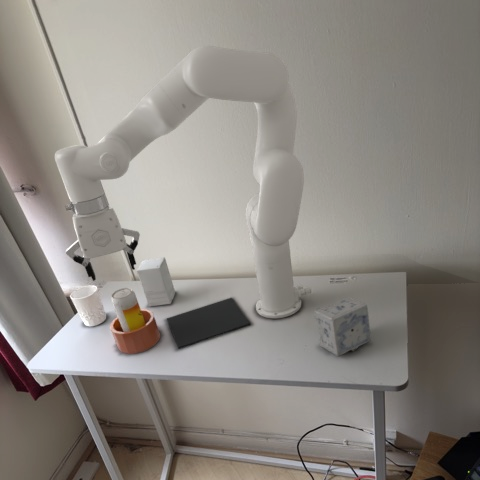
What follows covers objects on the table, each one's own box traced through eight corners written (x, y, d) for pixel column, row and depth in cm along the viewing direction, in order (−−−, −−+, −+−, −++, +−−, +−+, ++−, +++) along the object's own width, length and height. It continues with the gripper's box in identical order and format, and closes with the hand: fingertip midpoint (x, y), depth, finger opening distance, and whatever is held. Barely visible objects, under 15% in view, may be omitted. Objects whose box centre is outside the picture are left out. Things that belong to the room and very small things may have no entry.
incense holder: (348, 328, 103) (347, 292, 98) (372, 344, 97) (372, 306, 91) (315, 343, 101) (312, 306, 95) (337, 361, 94) (335, 322, 88)
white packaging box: (176, 292, 134) (165, 256, 128) (170, 304, 128) (159, 267, 122) (154, 294, 136) (143, 259, 129) (147, 306, 130) (135, 270, 123)
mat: (231, 299, 125) (231, 297, 125) (250, 324, 112) (250, 323, 112) (166, 319, 121) (166, 318, 121) (178, 349, 108) (178, 347, 108)
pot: (156, 323, 120) (150, 304, 117) (163, 344, 111) (156, 324, 107) (116, 336, 118) (108, 317, 115) (120, 359, 109) (112, 338, 105)
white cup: (84, 330, 124) (72, 302, 118) (80, 319, 130) (68, 291, 124) (110, 320, 126) (99, 292, 121) (105, 310, 132) (94, 282, 127)
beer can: (154, 335, 115) (138, 287, 107) (141, 348, 111) (123, 300, 103) (137, 332, 118) (120, 286, 110) (123, 345, 114) (104, 298, 106)
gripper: (50, 219, 90) (78, 289, 99) (130, 199, 93) (150, 269, 102) (51, 210, 96) (78, 276, 105) (126, 192, 99) (146, 258, 108)
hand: (113, 273), depth 104 cm, fingers open, 9 cm apart
